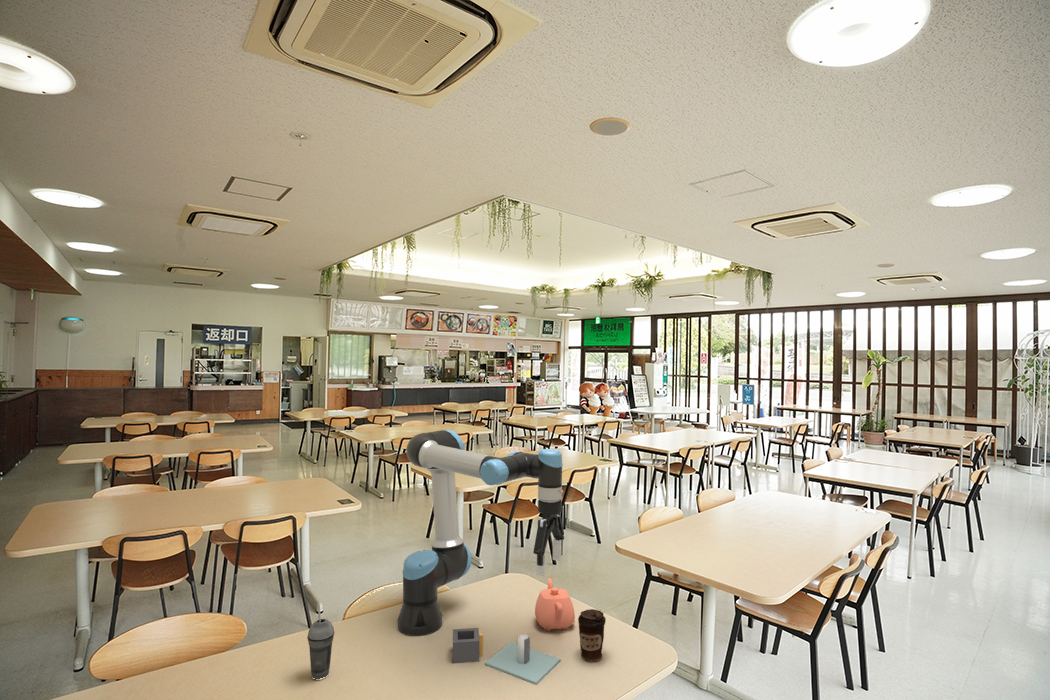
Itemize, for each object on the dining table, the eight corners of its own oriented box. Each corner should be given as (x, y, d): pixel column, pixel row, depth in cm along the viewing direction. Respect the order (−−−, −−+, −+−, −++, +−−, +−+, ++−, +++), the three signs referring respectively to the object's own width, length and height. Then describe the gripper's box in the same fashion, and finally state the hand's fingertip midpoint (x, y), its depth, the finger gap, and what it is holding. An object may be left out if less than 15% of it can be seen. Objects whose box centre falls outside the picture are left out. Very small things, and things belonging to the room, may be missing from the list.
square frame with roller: (452, 663, 155) (452, 642, 155) (452, 648, 163) (452, 629, 163) (483, 661, 156) (483, 640, 156) (482, 646, 164) (482, 627, 164)
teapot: (566, 608, 190) (566, 575, 191) (580, 636, 170) (580, 599, 171) (530, 611, 188) (530, 577, 189) (540, 639, 168) (540, 601, 169)
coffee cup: (605, 666, 153) (604, 621, 154) (576, 663, 155) (576, 619, 155) (606, 650, 162) (606, 608, 162) (579, 648, 163) (579, 606, 164)
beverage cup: (317, 686, 144) (318, 612, 144) (301, 678, 147) (302, 606, 148) (339, 673, 150) (340, 602, 150) (323, 665, 154) (324, 596, 154)
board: (484, 664, 154) (484, 638, 155) (511, 643, 166) (511, 619, 166) (536, 684, 145) (536, 656, 145) (560, 660, 156) (560, 635, 157)
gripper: (546, 510, 151) (545, 584, 150) (574, 491, 174) (573, 556, 173) (522, 507, 154) (521, 580, 153) (553, 489, 177) (552, 552, 176)
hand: (549, 567), depth 163 cm, fingers open, 13 cm apart
